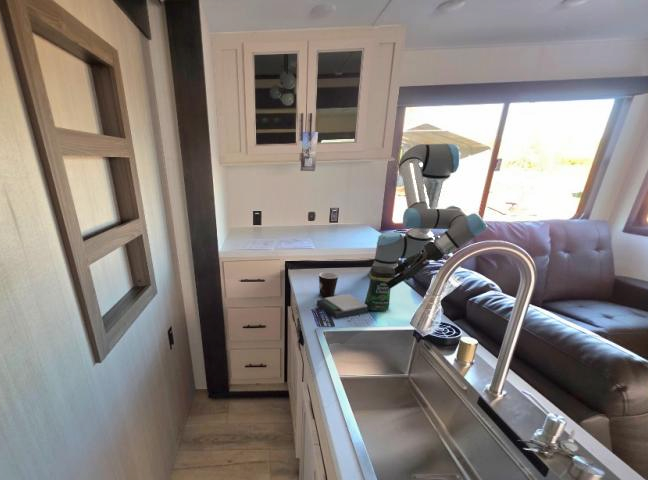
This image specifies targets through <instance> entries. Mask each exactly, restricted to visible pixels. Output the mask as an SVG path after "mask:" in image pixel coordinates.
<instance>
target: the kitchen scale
mask: <svg viewBox="0 0 648 480" xmlns="http://www.w3.org/2000/svg"><path fill="white" fill-rule="evenodd" d="M316 307H318V308H319V309H321V310H322V311H324V312H325V313H327V314H328V315H329V316H331V317H332V318H333V319H334V320H338V319H342V318H347V317H348V318H349V317H353V316H357V315H363V314H367V313H369V311H370V310H369V307H368V306H367V305H366V304H365V302H362V301H361V300H359V299H357V298H356V297H354V296H352V295H351V294H348V293H345V294H340V295H334V296H333V297H328V298H323V299H318V300H316Z"/></svg>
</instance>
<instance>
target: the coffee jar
mask: <svg viewBox="0 0 648 480" xmlns="http://www.w3.org/2000/svg"><path fill="white" fill-rule="evenodd" d="M370 269H371V271H370V270H369V271H370V274H369V273H368V276H369V285H368V289H367V293H366V296H365V300H364V304H366V305H367V306H368V307H369V310H368V311H372V312H387V311H388V310H389V309H390V299H391V298H390V297H391V289H392V288H391V289H390V288H389V287H388V286H387V285H386V283H387V282H388V281H390V280H391V279H393V278H394V277H395V269H394V268H393V267H387V266H372V265H371V268H370Z"/></svg>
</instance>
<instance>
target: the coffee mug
mask: <svg viewBox="0 0 648 480" xmlns="http://www.w3.org/2000/svg"><path fill="white" fill-rule="evenodd" d="M338 279H339V274H337V273H335V272H330V271H324V272H320V273H319V274H318V284H319V297H320V298H323V299H325V298H328V297H333V296H335V293H336V288H337V284H338Z"/></svg>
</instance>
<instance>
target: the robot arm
mask: <svg viewBox="0 0 648 480" xmlns="http://www.w3.org/2000/svg"><path fill="white" fill-rule="evenodd" d="M460 150H461V149H460V148H459V146H458V145H457V144H456V143H455V144H454V143H429V144H428V143H427V144H426V143H422V144H421V143H420V144H415V145H414V146H412V147H410V148H409V149H407V150H406V151H405V152H404V153H403V155H402V156H401V158H400V160H399V162H398V166H397V167H398V168H397V169H398V175H399V176H400V177H401V178H402V183H403V184H402V185H403V189H404V195H405V201H406V205H407V206H406V207H407V208H406V209H405V210H404V212H403V216H402V226H403V227H404V228H406V229H409V230H408V231H407V234H406V235H404V234H403V233H402V232H396V231H389V232H384V233H381V234H380V235H379V236H378V238H377V242H376V248H375V256H374V261H373V263H372V265H371V267H372V266H387V267H393V268H394V269H395V277H394V278H393V279H391V280H390V281H388V282H387V283H386V285H387V286H388V287H389V288H390V289H393V288H394V287H396V286H398V285H399V284H400V283H402V282H404V281H405V280H406V281H408V280H410V279H411V278H412V277H413V276H415V275H416V274H418V273H419V272H420V271H421V270H423V269H424V268H425V267H426V266H428V265H430V264H431V262H430V261H431V260H432V261H433V262H439V261H441V259H444V258H445V256H448V255H450V254H452V253H454V252H455V251H456V250H458V249H459V248H461V247H463V246H464V245H466V244H467V243H470V242H471V241H473V240H474V239H476V238H477V237H479V236H480V235H481V234H483V233H485V232H486V231H487V230H488V224H487V223H486V222H485V220H484V219H483V217H481V215H480V214H478V213H477V212H472V213H471V214H468V213H467V211H466V210H465V209H464V208H462V207H461V206H459V205H456V204H455V205H454V204H453V205H450V206H448V207H446V208H439V207H438V206H439V204H440V201H441V200H440V199H441V196H442V194H443V193H442V192H443V189H444V186H445V182H446V181H448V180H449V179H450V178H451V175H452V174H454V173H456V172H457V171H458V169H459V166H460V162H461V151H460ZM432 230H445V231H444V232H443V233H438V236H436V237H434V234H433V232H432ZM399 259H404V260H403V261H402V262H401V263H400V264H399ZM370 271H371V268H370V269H369V271H368V275H369V274H370Z"/></svg>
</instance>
